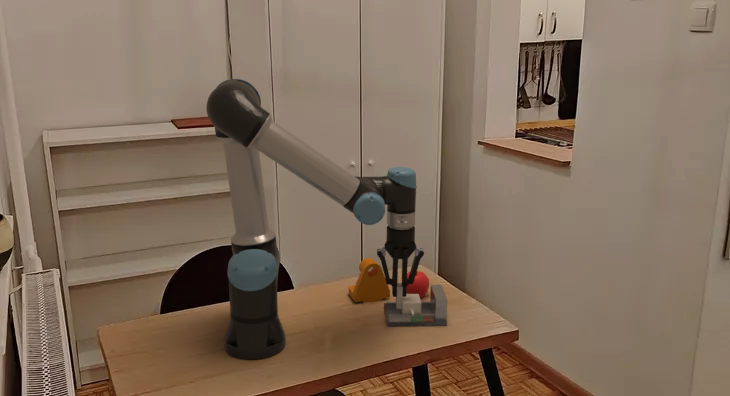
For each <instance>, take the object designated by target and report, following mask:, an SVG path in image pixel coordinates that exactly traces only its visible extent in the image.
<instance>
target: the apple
mask: <svg viewBox="0 0 730 396" xmlns="http://www.w3.org/2000/svg"><path fill="white" fill-rule="evenodd" d="M409 274H410V271H407V278H408V277H409ZM429 287H430V279H429V278H428V276H427V275H426V274H425V272H423V271H420V270H417V272H416V276H415V279H414V283H413V284H409V285H407V292H406V294H419V297H420V299H421V298H423V297H424V296H426V294H428V290H429Z"/></svg>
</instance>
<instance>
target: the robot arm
mask: <svg viewBox="0 0 730 396" xmlns="http://www.w3.org/2000/svg"><path fill="white" fill-rule="evenodd" d="M206 101H207V102H206V108H205V109H206V115H207V118H208V119H209V121H210V123H211V124H212V125H213V127H214V132H215V138H216V139H217V140H219V141H220V142H222V144H223V152H224V159H225V165H226V172H227V180H228V186H229V193H230V202H231V208H232V216H233V222H234V230H235V233H234V234H233V235H232V237H231V238H230V244H231V250H232V256H231V258H230V259H229V261H228V264H227V266H228V267H227V272H226V273H227V278H228V292H229V295H228V296H229V313H230V315H229V316H230V318H229V322H228V326H227V329H226V332H225V336H224V349H225V351H226V353H227V354H229V355H230V356H232V357H235V358H237V359H242V360H260V359H265V358H269V357H273V356H274V355H277V354H279V353H280V352H281V351H283V349H284V348H285V346H286V344H287V343H286V338H287V337H286V332H285V329H284V327H283V325H282V322H281V319H280V317H279V313H278V311H279V309H278V278H279V268H280V264H281V255H280V253H281V252H280V250H279V248H278V245H277V244H278V243H277V236H276V232H275V231H274V230H272V229H271V228H270V227H269V220H268V219H269V218H268V213H267V212H268V211H267V204H266V196H265V188H264V180H263V179H264V178H263V172H262V165H261V164H262V162H261V156H260V153H261V154H263V155H265V156H266V157H267V158H269V159H271V160H272V161H274V162H275V163H277V164H278V165H279V166H281V167H283V168H284V169H285V170H287V171H288V172H290V173H292V174H293V175H295V176H296V177H298V178H299V179H301V180H302V181H304V182H306V183H307V184H308V185H310V186H311V187H312V188H314V189H316V190H318V191H319V192H320V193H322V194H324V195H325V196H326V197H328V198H329V199H331V200H332V201H334V202H336V203H337V204H338V205H340V206H342V207H343V208H345V210H347V211H349V212H350V213H352V214H353V215H354V217H355V219H356V220H357V221H358V222H359V223H360V224H363V225H366V226H373V225H377V224H378V223H379V222H380V221H382V220H383V218H384V216H385V214H386V225H387V226H386V241H385V242H384V246H383V247H382V248H377V249H376V256H377V258H379V260H380V261H381V266H382V267H381V268H382V271H383V274H384V277H385V279H386V283H387V284H388V286H389V285H390V286H392V287H391V288H392V290H391V291H392V292H391V294H392V298H395V302H396V308H397V309H402V297H406V292H407V285H409V284H413V283H414V279H415V276H416V272H417V271H418V268H419V265H420V261H421V260H422V258H423V256H424V255H425V251H424V249H423V248H421V247H420V248H419V246H417V244H416V237H415V236H416V235H415V234H416V227H415V225H416V203H417V201H416V199H417V188H418V187H417V172H416V171H415V170H414V169H413V168H411V167H406V166H395V167H391V168H389V169H388V170H387V173H386V175H383V176H356V175H353V174H351V173H350V172H348V171H347V170H346V169H345V168H342V167H341V166H339V165H338V164H337V163H335V162H334V161H332V160H331V159H330V158H328V157H326V156H325V155H324V154H322V153H320V152H319V151H317V150H316V149H315V148H313V147H311V145H309V144H307V143H306V142H304V141H303V140H301V138H298V137H297V136H296V135H294V134H293V133H291V132H289V130H287V129H286V128H283V126H281V125H279V124H278V123H276V122H275V121H273V117H272V114H271V113H270V112H268V111H267V110H265V109H264V108H263V106H262V99H261V95H260V94H259V92H258V90H257V88H256V87H255V86H254V85H253V84H252V83H251V82H249V81H246V79H245V80H244V79H242V78H241V79H240V78H231V79H230V78H229V79H225V80H224V81H222V82H221V83H219V84H217V86H216V87H215V88H214V90H212V91H211V93H210V94H209V96H208V97H207V100H206ZM386 252H387V253H388V255H389V256H390V257H391V258H392V269H391V270H392V272H391V273H392V275H391V276H392V277H390V273H389V270H388V269H389V268H388V264H387V260H386V255H387V253H386ZM413 253H414V257H413V261H412V263H411V264H412V265H411V268H410V271H409V272H410V274H409V277H408V278H407V273H408V263H409V258H410V257H411V256H412V255H413ZM399 260H401V282H400V283H399V282H398V281H399V280H398V278H399V276H398V274H399Z"/></svg>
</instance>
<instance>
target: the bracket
mask: <svg viewBox="0 0 730 396" xmlns="http://www.w3.org/2000/svg"><path fill="white" fill-rule="evenodd" d="M358 269H359V272H360V273H359V275H358V279H357V281H356V283H355V284H354V285H349V286H348V295H349V296H350V298H351V299H352V300H353V302H355V303H357V302H362V303H363V304H367V303H376V302H382V300H383V299H389V298H391V290H390V287H389V285H388V284H387V283H386V279H385V275H384V271H383V268H382V267H381V265H380V264H379V263H378V262H377V261H376V260H375V258H372V257H366V258H364V259H362V260H361V262H360V263H359V266H358Z"/></svg>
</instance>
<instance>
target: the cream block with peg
mask: <svg viewBox="0 0 730 396" xmlns="http://www.w3.org/2000/svg"><path fill="white" fill-rule="evenodd" d="M401 312H402V314H412V316H414V314H421V298H420V297H419V294H406V297H402V309H401Z"/></svg>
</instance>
